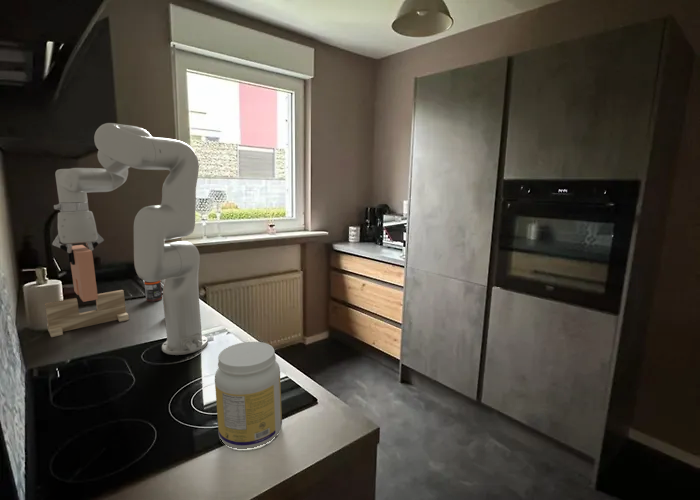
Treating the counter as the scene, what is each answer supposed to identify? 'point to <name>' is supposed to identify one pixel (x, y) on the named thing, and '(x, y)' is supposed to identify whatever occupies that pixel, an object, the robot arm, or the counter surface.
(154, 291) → the supplement bottle
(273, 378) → the supplement tub
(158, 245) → the robot arm
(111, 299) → the slotted stand
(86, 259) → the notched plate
